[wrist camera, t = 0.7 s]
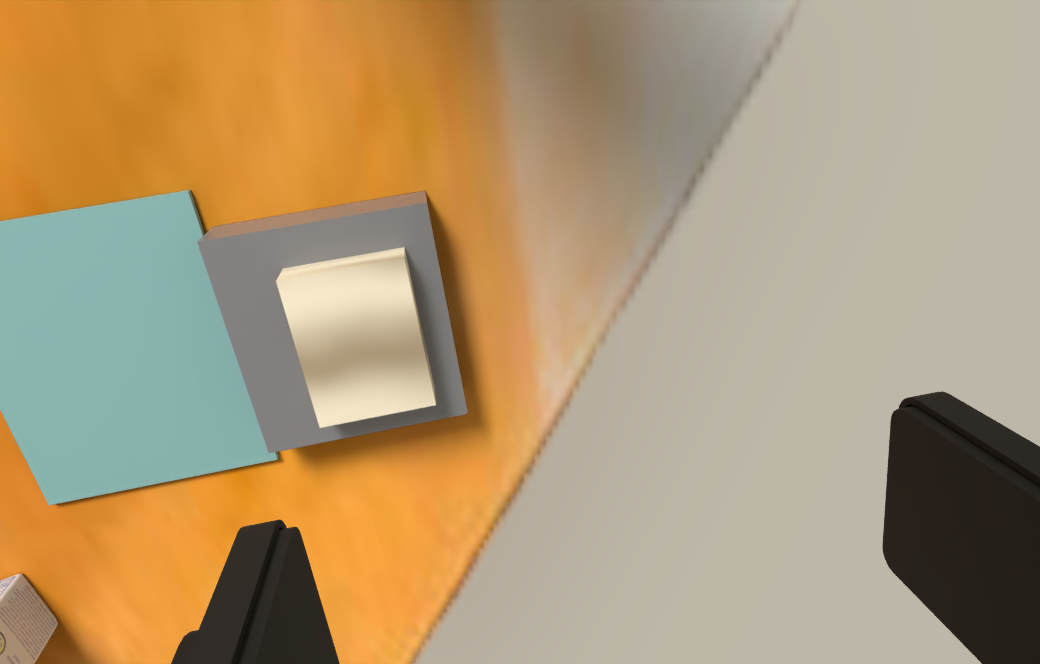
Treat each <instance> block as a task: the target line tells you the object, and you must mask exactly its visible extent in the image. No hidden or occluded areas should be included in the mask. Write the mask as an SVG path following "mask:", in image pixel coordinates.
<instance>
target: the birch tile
mask: <svg viewBox="0 0 1040 664" xmlns="http://www.w3.org/2000/svg"><path fill="white" fill-rule="evenodd" d="M276 283H277V287H278V290H279V293H280V297H281V300H282V303H283V307H284V310H285V313H286V317H287V320H288V323H289V327H290V330H291V334H292V337H293V340H294V344H295V347H296V350H297V354H298V357H299V360H300V364H301V367H302V370H303V374H304V377H305V380H306V384H307V387H308V391H309V394H310V397H311V401H312V404H313V407H314V411H315V414H316V417H317V421H318V424H319V427H320V428H322V427H327V426H332V425H338V424H343V423H348V422H353V421H358V420H363V419H368V418H373V417H378V416H383V415H388V414H393V413H398V412H404V411H409V410H414V409H419V408H424V407H429V406H434V405H436V399H435V387H434V383H433V378H432V373H431V369H430V364H429V359H428V355H427V350H426V345H425V341H424V336H423V331H422V327H421V322H420V317H419V312H418V308H417V303H416V298H415V294H414V289H413V284H412V280H411V275H410V270H409V266H408V261H407V256H406V252H405V247H402V248H397V249H391V250H385V251H380V252H374V253H368V254H363V255H357V256H351V257H346V258H340V259H334V260H329V261H323V262H317V263H312V264H306V265H300V266H295V267H289V268H283V269H282V271H281V273H280V275H279V277H278V278H277V280H276Z"/></svg>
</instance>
